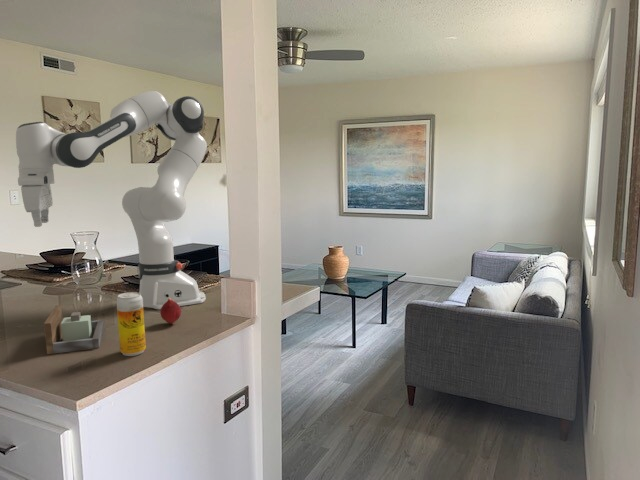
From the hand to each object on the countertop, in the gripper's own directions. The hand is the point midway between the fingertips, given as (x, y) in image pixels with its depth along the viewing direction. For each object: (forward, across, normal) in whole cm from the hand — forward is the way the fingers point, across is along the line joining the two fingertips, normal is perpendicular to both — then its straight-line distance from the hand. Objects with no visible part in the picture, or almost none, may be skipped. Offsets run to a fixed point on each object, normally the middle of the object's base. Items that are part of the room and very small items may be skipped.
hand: (41, 224), depth 145 cm
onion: (+29, +19, +35) cm, 49 cm away
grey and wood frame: (+29, +24, +11) cm, 39 cm away
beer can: (+29, +38, +25) cm, 54 cm away
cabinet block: (+29, +24, +10) cm, 39 cm away
